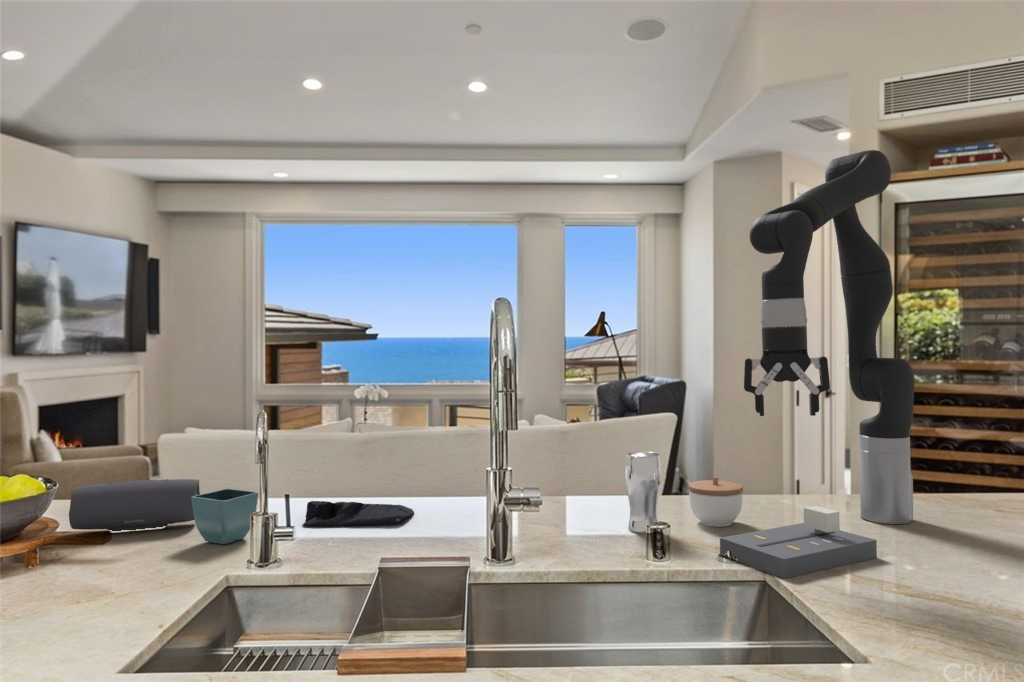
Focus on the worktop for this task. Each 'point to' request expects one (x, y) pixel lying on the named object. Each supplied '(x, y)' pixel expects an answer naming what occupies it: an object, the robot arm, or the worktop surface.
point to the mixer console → (798, 549)
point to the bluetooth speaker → (132, 504)
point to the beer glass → (642, 488)
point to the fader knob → (821, 519)
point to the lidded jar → (715, 501)
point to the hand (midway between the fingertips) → (786, 415)
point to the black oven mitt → (354, 514)
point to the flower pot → (224, 514)
